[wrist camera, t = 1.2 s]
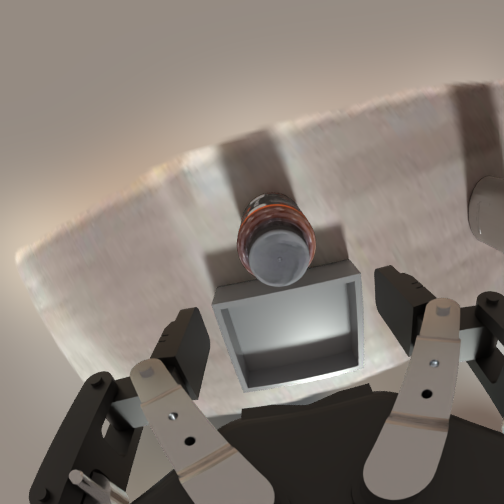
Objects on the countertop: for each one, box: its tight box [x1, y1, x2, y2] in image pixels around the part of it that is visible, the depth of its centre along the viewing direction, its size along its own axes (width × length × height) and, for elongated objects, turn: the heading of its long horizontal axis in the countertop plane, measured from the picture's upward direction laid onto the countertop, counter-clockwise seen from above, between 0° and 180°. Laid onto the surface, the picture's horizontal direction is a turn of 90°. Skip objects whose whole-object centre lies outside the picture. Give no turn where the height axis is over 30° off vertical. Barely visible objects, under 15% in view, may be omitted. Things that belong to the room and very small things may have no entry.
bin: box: [212, 259, 364, 393], centre depth 30 cm, size 15×13×4 cm
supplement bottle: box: [237, 193, 316, 287], centre depth 23 cm, size 6×6×11 cm
